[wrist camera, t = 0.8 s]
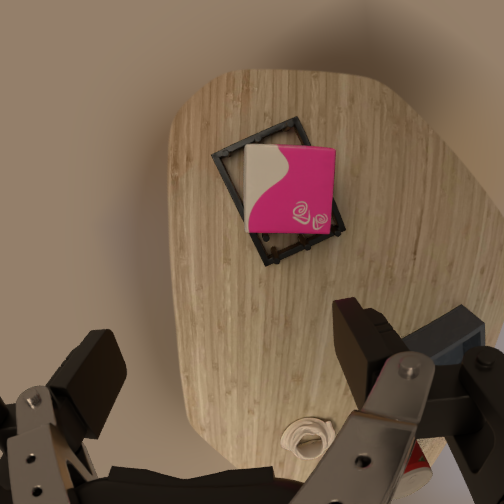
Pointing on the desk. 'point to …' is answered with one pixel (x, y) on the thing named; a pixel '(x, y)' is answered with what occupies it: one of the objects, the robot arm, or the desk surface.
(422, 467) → the canned food
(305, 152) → the supplement box
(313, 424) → the cream coiled cloth
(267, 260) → the dish rack
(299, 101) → the desk surface
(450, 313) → the dark grey storage bin
